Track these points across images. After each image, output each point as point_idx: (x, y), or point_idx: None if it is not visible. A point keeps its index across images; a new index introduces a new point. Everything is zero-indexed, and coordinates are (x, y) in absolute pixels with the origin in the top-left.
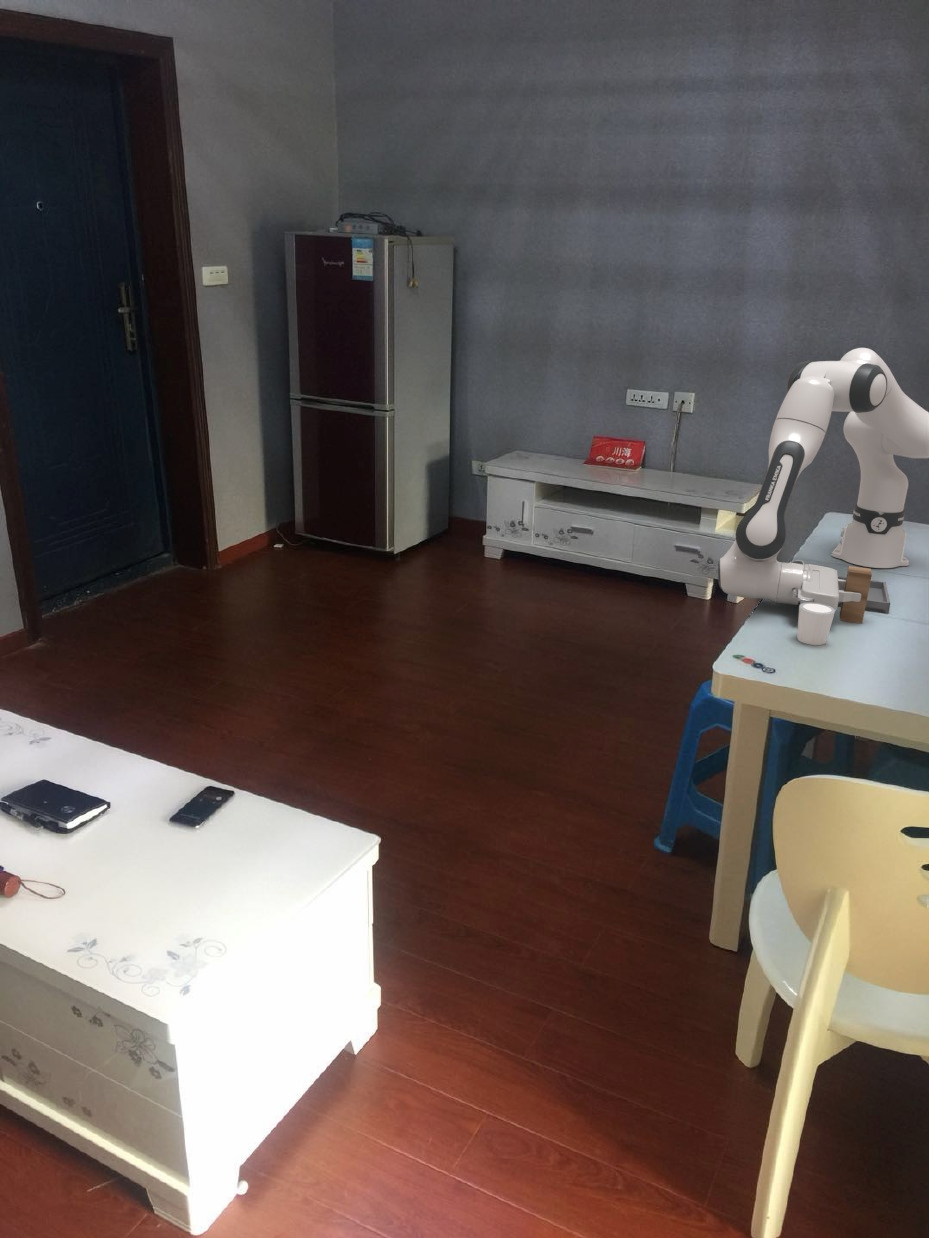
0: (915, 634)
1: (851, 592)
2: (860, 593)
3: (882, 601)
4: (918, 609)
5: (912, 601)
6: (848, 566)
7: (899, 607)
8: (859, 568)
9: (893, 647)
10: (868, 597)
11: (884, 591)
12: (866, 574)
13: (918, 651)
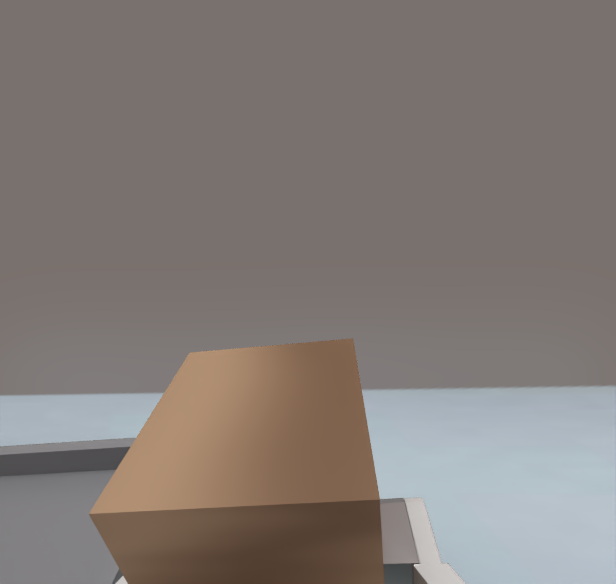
0: (383, 397)
1: (437, 573)
2: (391, 499)
3: (81, 477)
4: (146, 395)
5: (71, 407)
6: (105, 514)
7: (123, 435)
8: (191, 409)
9: (596, 449)
10: (9, 534)
11: (12, 458)
12: (354, 365)
13: (546, 389)
